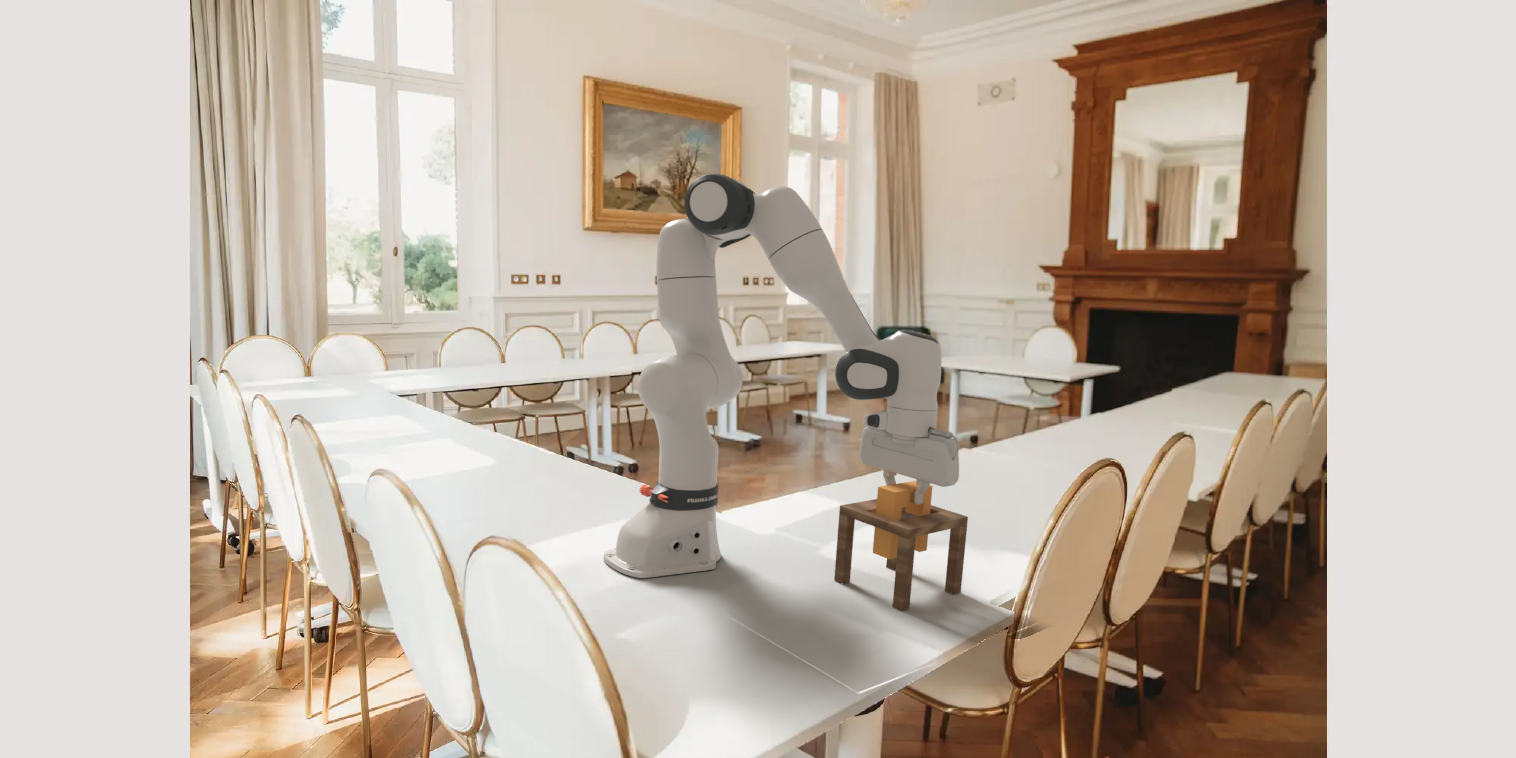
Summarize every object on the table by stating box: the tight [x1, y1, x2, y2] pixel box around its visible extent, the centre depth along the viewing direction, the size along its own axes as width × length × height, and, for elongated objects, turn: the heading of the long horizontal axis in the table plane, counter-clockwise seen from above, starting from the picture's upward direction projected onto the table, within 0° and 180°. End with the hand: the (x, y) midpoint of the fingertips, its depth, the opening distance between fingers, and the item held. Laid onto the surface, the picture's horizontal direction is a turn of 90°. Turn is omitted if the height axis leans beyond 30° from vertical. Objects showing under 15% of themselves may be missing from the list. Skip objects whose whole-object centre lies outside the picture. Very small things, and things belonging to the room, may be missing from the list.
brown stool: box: [833, 498, 969, 612], centre depth 147 cm, size 16×16×14 cm
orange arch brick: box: [872, 480, 933, 560], centre depth 147 cm, size 10×4×12 cm, turn 129°
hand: (904, 499), depth 146 cm, fingers closed on orange arch brick, 4 cm apart
